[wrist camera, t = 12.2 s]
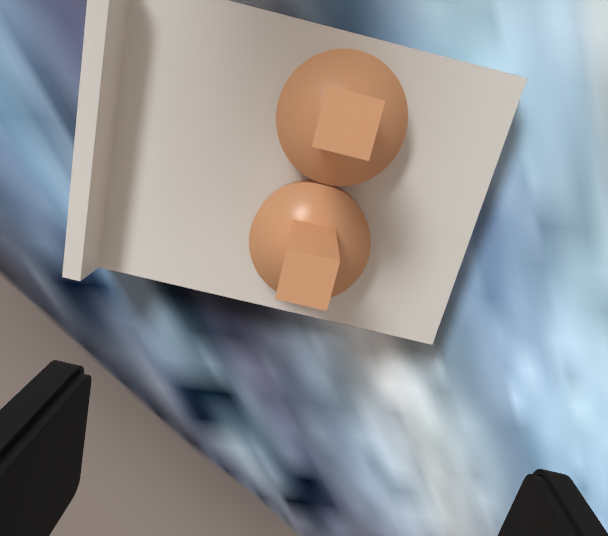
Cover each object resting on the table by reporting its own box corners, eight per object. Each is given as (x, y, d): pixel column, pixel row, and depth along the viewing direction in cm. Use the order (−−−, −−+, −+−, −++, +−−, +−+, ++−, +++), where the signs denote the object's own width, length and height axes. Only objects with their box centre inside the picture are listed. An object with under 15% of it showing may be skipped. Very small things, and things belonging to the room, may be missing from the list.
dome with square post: (377, 188, 30) (403, 225, 21) (349, 289, 32) (361, 363, 23) (269, 162, 30) (246, 187, 21) (247, 266, 32) (218, 331, 23)
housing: (510, 80, 28) (605, 67, 19) (424, 327, 33) (466, 415, 24) (130, -18, 27) (30, -84, 18) (100, 251, 32) (8, 312, 23)
